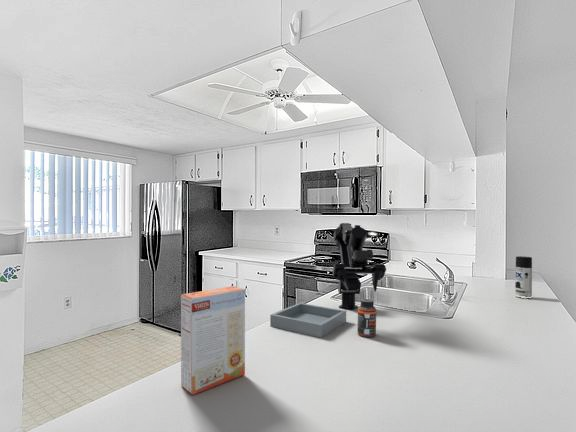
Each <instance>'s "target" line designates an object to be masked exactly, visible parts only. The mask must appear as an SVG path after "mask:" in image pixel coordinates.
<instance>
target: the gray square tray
mask: <svg viewBox="0 0 576 432" xmlns="http://www.w3.org/2000/svg"><path fill="white" fill-rule="evenodd" d="M269 319H270V320H269V321H270V323H269V324H270V327H272V328H277V329H280V330H281V329H282V330H286V331H291V332H295V333H298V334H299V333H300V334H302V335H303V334H304V335H307V336H312V337H314V338H315V337H316V338H323V337H325V336H326V335H328V334H330V333H331V332H332V331H334V330H336V329H337V328H339V327H340V326H342V325H343V324H345V323H346V322H347V310H343V309H337V308H333V307H327V306H326V307H325V306H322V305H321V306H319V305H314V304H309V303H302V302H298V303H296V304H294V305H291V306H289V307H287V308H284V309H281V310H279V311H276V312H274V313H273V312H272V313H271V314H270V317H269Z"/></svg>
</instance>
